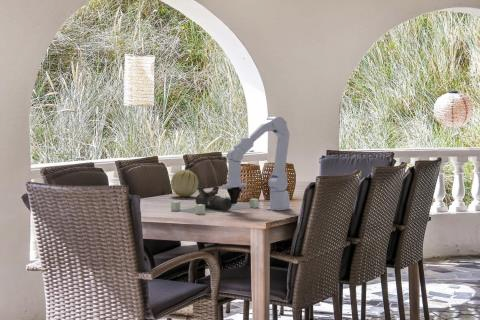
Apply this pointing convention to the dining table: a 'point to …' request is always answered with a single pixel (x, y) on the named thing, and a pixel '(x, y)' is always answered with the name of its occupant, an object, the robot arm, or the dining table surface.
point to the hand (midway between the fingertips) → (234, 203)
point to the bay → (202, 210)
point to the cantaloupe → (184, 183)
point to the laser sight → (212, 199)
